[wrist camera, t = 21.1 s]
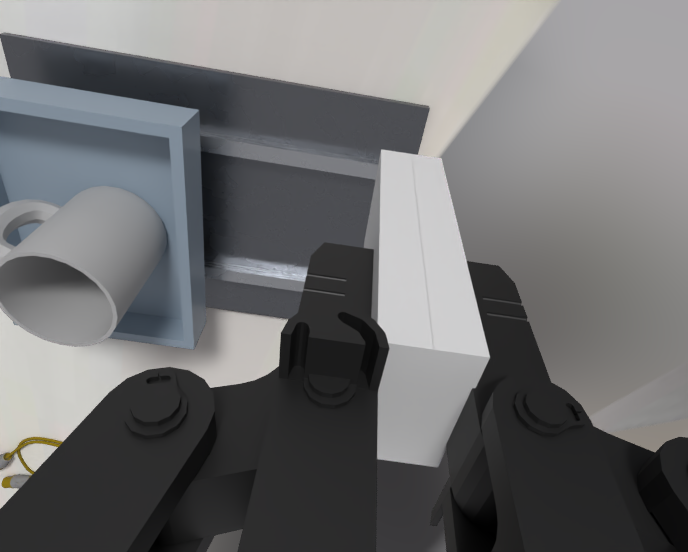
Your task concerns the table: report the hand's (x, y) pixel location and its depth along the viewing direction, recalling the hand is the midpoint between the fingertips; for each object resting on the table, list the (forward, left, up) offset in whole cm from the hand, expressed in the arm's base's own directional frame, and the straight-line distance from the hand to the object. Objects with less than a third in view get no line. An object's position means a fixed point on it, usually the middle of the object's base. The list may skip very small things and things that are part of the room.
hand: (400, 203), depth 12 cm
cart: (+18, +14, -22) cm, 32 cm away
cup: (+18, +14, -19) cm, 29 cm away
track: (+11, +14, -24) cm, 30 cm away
